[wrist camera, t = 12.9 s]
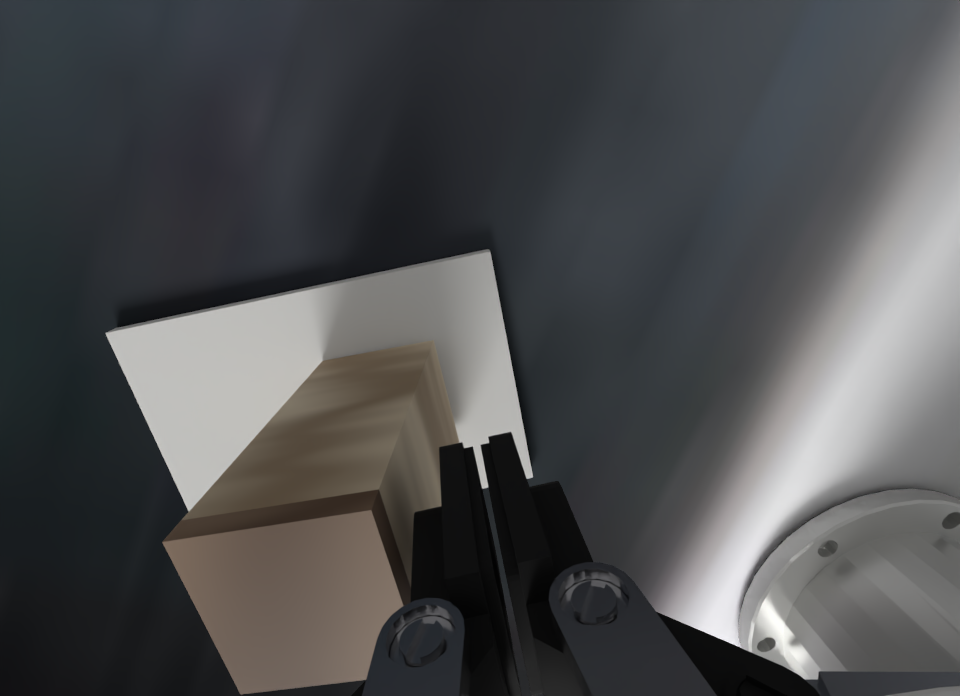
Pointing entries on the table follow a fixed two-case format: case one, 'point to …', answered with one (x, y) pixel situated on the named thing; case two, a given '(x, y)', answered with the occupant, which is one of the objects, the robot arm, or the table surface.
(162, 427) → the mat
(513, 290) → the table surface
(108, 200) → the table surface
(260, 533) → the block
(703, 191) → the table surface
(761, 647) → the robot arm
